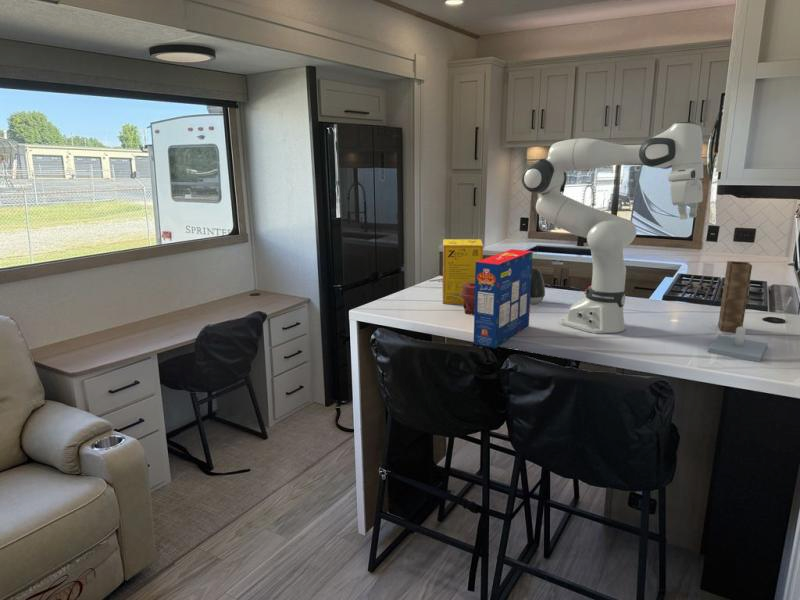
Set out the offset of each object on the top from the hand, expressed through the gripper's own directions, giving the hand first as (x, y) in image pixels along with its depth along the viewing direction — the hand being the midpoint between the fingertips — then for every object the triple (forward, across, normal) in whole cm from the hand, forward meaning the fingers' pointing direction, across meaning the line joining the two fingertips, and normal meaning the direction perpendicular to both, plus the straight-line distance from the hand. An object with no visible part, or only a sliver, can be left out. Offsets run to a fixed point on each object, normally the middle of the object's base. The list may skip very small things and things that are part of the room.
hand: (688, 218), depth 177 cm
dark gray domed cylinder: (+32, -12, -65) cm, 74 cm away
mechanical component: (+31, +16, -76) cm, 83 cm away
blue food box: (+35, +32, -52) cm, 70 cm away
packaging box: (+28, +2, -91) cm, 96 cm away
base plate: (+43, -4, +13) cm, 45 cm away
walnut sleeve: (+41, -26, +5) cm, 49 cm away
